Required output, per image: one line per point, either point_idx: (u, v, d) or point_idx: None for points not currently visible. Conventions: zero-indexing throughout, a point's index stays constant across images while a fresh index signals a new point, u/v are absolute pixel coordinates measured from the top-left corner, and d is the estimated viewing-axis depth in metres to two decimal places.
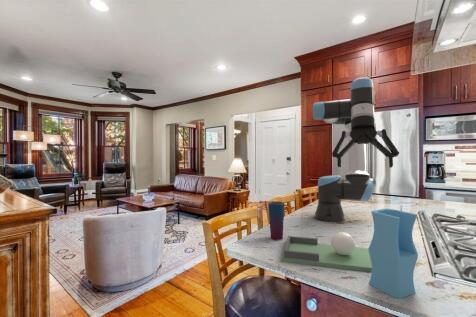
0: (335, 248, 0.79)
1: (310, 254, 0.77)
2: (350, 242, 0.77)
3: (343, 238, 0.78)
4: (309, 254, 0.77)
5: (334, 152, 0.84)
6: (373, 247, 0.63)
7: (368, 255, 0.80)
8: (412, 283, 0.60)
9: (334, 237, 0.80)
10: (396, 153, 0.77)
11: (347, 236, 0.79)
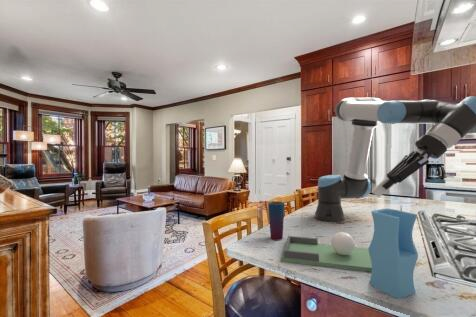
0: (335, 248, 0.79)
1: (310, 254, 0.77)
2: (350, 242, 0.77)
3: (343, 238, 0.78)
4: (309, 254, 0.77)
5: None
6: (373, 247, 0.63)
7: (368, 255, 0.80)
8: (412, 283, 0.60)
9: (334, 237, 0.80)
10: None
11: (347, 236, 0.79)
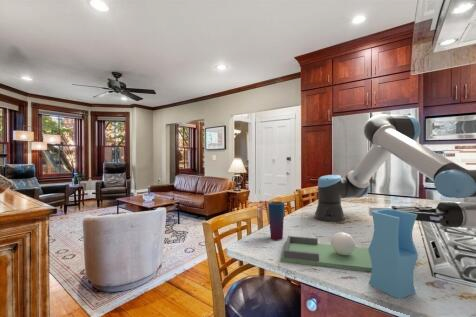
0: (335, 248, 0.79)
1: (310, 254, 0.77)
2: (350, 242, 0.77)
3: (343, 238, 0.78)
4: (309, 254, 0.77)
5: None
6: (373, 247, 0.63)
7: (368, 255, 0.80)
8: (412, 283, 0.60)
9: (334, 237, 0.80)
10: None
11: (347, 236, 0.79)
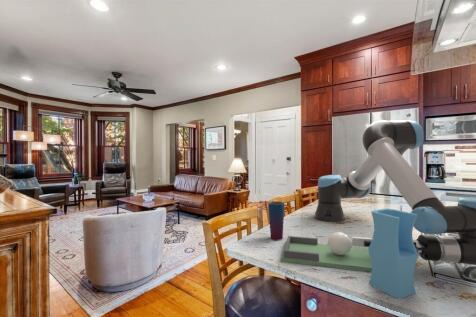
0: (333, 250, 0.79)
1: (310, 254, 0.77)
2: (344, 241, 0.78)
3: (338, 239, 0.78)
4: (309, 254, 0.77)
5: None
6: (373, 247, 0.63)
7: (368, 255, 0.80)
8: (412, 283, 0.60)
9: (329, 239, 0.81)
10: None
11: (341, 235, 0.79)
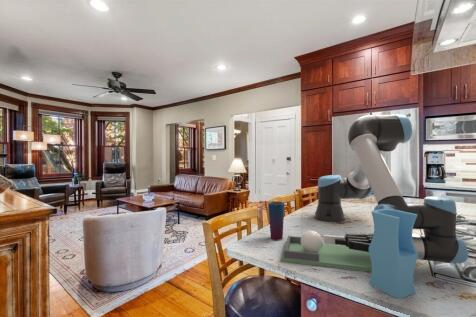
0: (321, 244, 0.80)
1: (310, 254, 0.77)
2: (306, 245, 0.80)
3: (309, 251, 0.80)
4: (309, 254, 0.77)
5: None
6: (373, 247, 0.63)
7: (368, 255, 0.80)
8: (412, 283, 0.60)
9: None
10: None
11: (305, 249, 0.81)
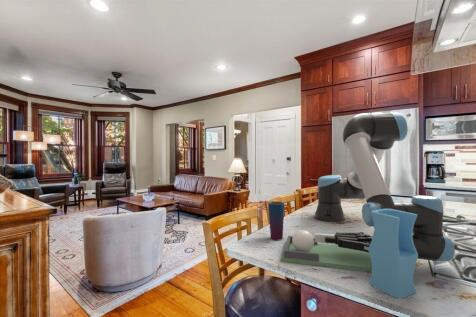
0: (309, 238, 0.81)
1: (310, 254, 0.77)
2: (299, 249, 0.81)
3: (306, 250, 0.80)
4: (309, 254, 0.77)
5: None
6: (373, 247, 0.63)
7: (368, 255, 0.80)
8: (412, 283, 0.60)
9: None
10: None
11: None
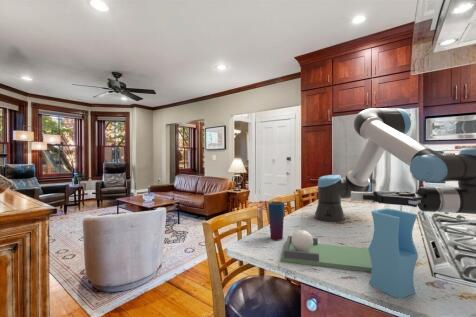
0: (308, 237, 0.81)
1: (310, 254, 0.77)
2: (299, 249, 0.81)
3: (306, 250, 0.80)
4: (309, 254, 0.77)
5: None
6: (373, 247, 0.63)
7: (368, 255, 0.80)
8: (412, 283, 0.60)
9: (312, 245, 0.82)
10: None
11: None
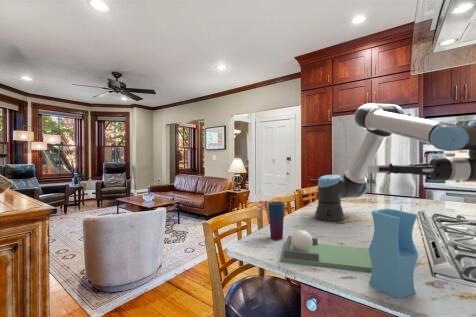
0: (307, 237, 0.81)
1: (310, 254, 0.77)
2: (299, 249, 0.81)
3: (305, 250, 0.81)
4: (309, 254, 0.77)
5: None
6: (373, 247, 0.63)
7: (368, 255, 0.80)
8: (412, 283, 0.60)
9: None
10: None
11: None
